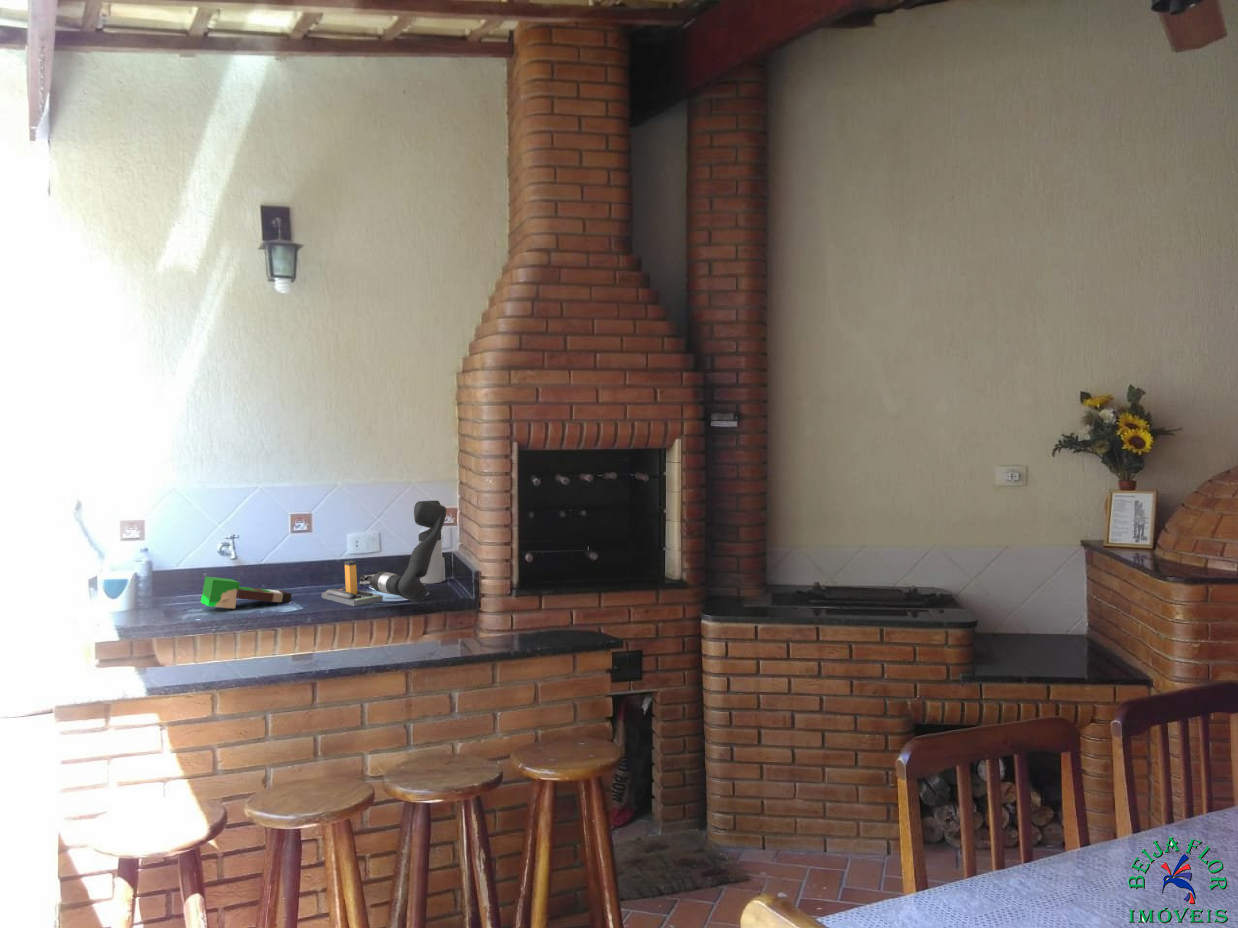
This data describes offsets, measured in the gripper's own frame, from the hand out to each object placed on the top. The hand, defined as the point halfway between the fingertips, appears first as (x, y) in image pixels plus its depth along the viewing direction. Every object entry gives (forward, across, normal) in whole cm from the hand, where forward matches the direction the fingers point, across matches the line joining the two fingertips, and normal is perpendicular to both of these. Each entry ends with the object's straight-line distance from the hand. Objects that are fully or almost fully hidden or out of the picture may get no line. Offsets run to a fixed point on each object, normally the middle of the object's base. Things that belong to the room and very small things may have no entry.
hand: (362, 577), depth 396 cm
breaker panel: (+8, 0, +9) cm, 12 cm away
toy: (+29, +32, +10) cm, 44 cm away
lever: (+8, 0, +7) cm, 11 cm away
